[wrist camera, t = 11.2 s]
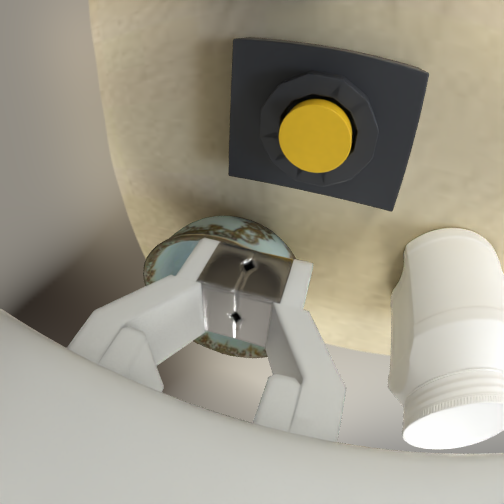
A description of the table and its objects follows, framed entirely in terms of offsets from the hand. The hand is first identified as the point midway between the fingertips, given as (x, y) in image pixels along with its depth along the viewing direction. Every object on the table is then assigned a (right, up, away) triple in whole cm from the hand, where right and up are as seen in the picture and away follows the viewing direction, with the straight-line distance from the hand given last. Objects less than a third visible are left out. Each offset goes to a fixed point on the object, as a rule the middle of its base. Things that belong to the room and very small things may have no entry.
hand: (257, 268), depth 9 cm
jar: (+18, -2, +18) cm, 25 cm away
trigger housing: (+5, +10, +13) cm, 17 cm away
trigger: (+4, +8, +9) cm, 12 cm away
